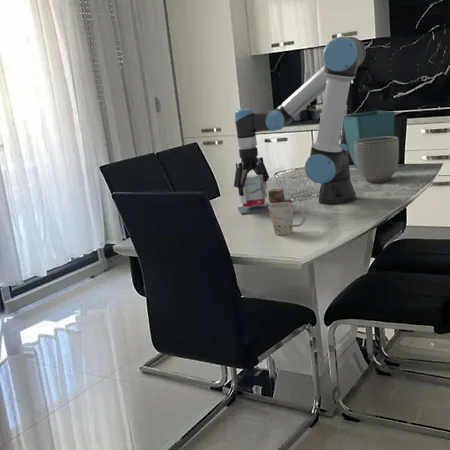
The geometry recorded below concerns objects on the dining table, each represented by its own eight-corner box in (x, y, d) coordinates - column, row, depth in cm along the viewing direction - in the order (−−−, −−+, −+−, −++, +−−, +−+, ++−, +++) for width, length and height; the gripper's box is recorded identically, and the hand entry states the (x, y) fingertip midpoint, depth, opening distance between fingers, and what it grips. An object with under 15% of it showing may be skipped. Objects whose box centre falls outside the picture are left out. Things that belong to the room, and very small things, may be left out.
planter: (406, 176, 291) (403, 135, 287) (392, 184, 275) (390, 141, 271) (365, 177, 302) (362, 137, 297) (350, 185, 286) (346, 143, 281)
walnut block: (284, 199, 273) (283, 188, 272) (280, 202, 269) (279, 190, 268) (273, 200, 276) (272, 189, 275) (269, 202, 271) (268, 191, 270)
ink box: (263, 205, 255) (259, 176, 252) (242, 207, 257) (239, 178, 254) (266, 200, 263) (262, 173, 260) (246, 202, 265) (242, 175, 262)
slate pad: (268, 204, 267) (267, 202, 267) (273, 210, 255) (272, 208, 254) (238, 208, 266) (237, 207, 266) (241, 214, 254) (241, 213, 254)
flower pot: (361, 174, 311) (356, 116, 305) (345, 169, 330) (341, 115, 324) (398, 168, 315) (394, 111, 308) (381, 164, 334) (377, 110, 327)
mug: (269, 232, 220) (266, 204, 218) (305, 227, 221) (302, 199, 219) (273, 237, 212) (270, 208, 210) (310, 232, 213) (307, 203, 211)
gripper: (260, 143, 265) (266, 193, 270) (220, 152, 250) (227, 205, 254) (274, 142, 260) (279, 194, 265) (233, 152, 244) (240, 206, 249)
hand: (254, 200), depth 260 cm, fingers closed on ink box, 11 cm apart
